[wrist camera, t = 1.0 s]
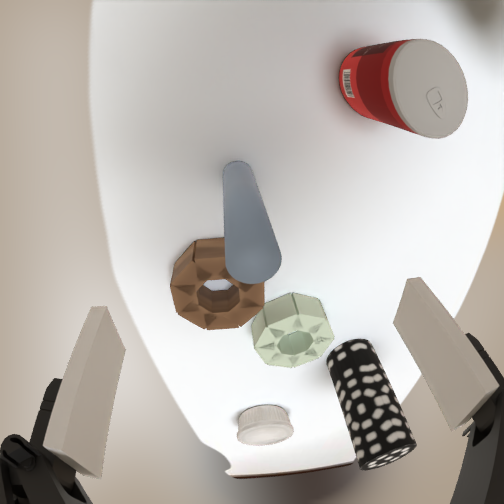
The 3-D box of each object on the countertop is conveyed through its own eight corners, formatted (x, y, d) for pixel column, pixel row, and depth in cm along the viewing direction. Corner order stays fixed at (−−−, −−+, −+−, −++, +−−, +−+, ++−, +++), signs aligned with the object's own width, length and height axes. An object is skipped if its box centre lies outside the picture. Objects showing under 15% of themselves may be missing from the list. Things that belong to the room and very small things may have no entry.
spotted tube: (379, 350, 47) (422, 445, 30) (341, 375, 50) (374, 470, 33) (358, 331, 44) (406, 441, 27) (317, 359, 46) (349, 469, 29)
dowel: (252, 160, 29) (282, 234, 15) (253, 188, 31) (280, 281, 17) (221, 162, 29) (223, 238, 15) (223, 190, 30) (227, 285, 17)
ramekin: (252, 430, 59) (255, 450, 54) (224, 413, 53) (225, 435, 49) (298, 414, 56) (302, 435, 52) (274, 395, 51) (278, 419, 47)
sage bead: (312, 283, 38) (321, 303, 34) (331, 329, 43) (339, 349, 39) (241, 312, 39) (243, 334, 36) (270, 354, 44) (273, 374, 41)
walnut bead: (259, 234, 33) (263, 253, 30) (260, 303, 39) (264, 325, 35) (169, 242, 33) (164, 261, 29) (183, 309, 38) (181, 331, 35)
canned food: (372, 132, 28) (434, 159, 19) (320, 80, 25) (371, 80, 16) (412, 87, 26) (481, 99, 16) (365, 34, 23) (428, 20, 13)
